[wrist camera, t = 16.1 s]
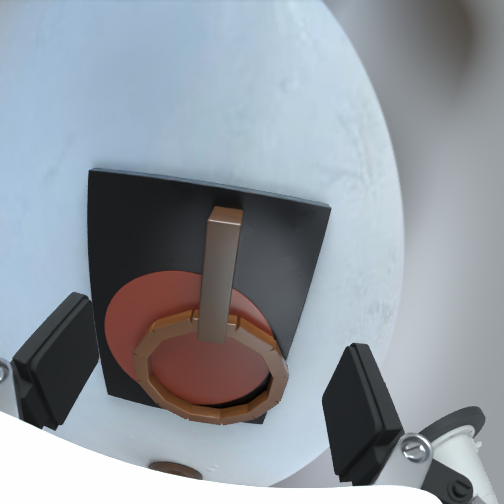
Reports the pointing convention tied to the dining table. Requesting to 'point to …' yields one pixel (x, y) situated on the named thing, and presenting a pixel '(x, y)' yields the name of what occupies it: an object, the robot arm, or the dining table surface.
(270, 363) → the loop
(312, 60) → the dining table surface
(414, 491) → the robot arm
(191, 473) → the paper towel holder
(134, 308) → the stove plate
